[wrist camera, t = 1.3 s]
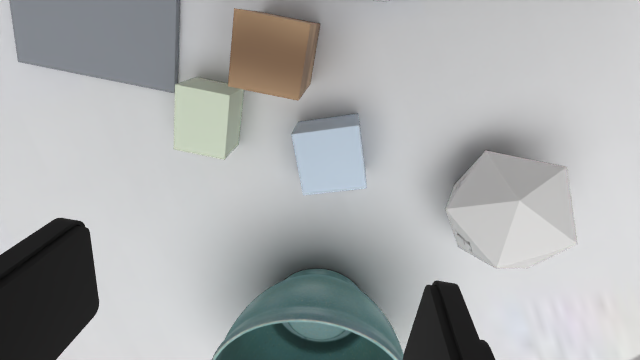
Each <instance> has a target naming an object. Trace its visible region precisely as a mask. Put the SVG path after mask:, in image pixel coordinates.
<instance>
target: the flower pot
mask: <svg viewBox="0 0 640 360" xmlns="http://www.w3.org/2000/svg"><path fill="white" fill-rule="evenodd" d="M212 360H403V352H402V349H401V346H400V343H399V341H398V338H397V336H396V334H395V332H394V330H393V328H392V326H391V325H390V323H389V321H388V320H387V318H386V317H385V315H384V314H383V312H382V311H381V310H380V309H379V308H378V306H377V305H376V304H375V303H374V302H373V301H372V300H371V299H370V298H369V297H368V296H367V295H366V294H364V293H363V292H362V291H360V289H359V288H358V287H357V286H356V285H355V284H354V283H353V282H352V281H351V280H350V279H348V278H347V277H345V276H343V275H341V274H339V273H337V272H334V271H331V270H326V269H307V270H303V271H299V272H297V273H294V274H292V275H291V276H289V277H288V278H286V279H285V280H284V281H282V282H279V283H277V284H276V285H274V286H272V287H270V288H269V289H267V290H266V291H264V292H263V293H262V294H260V295H259V296H258V297H257V298H256V299H254V300H253V301H252V302H251V303H250V304H249V305H248V306H247V307H246V309H245V310H244V311H243V312H242V313H241V315H240V316H239V317H238V319H237V320H236V321H235V323H234V324H233V326H232V327H231V329H230V331H229V332H228V334H227V336H226V338H225V340H224V341H223V342H222V343H221V345H220V346H219V348H218V349H217V351H216V352H215V354H214V356H213V358H212Z"/></svg>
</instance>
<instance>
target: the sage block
mask: <svg viewBox="0 0 640 360" xmlns="http://www.w3.org/2000/svg"><path fill="white" fill-rule="evenodd" d="M243 95H244V90H243V89H238V88H233V87H228V83H223V82H218V81H213V80H208V79H203V78H198V77H195V78H192V79H189V80H186V81H184V82H181V83H178V84H175V111H174V150H179V151H184V152H189V153H194V154H199V155H204V156H209V157H214V158H219V159H224V160H225V159H226V157H227V156H228V155H229V154H230V153H231V152H232V151H233V150H234V149H235V148H236V147H237V146H238V145H239V136H240V126H241V116H242V105H243Z"/></svg>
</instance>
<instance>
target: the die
mask: <svg viewBox="0 0 640 360" xmlns="http://www.w3.org/2000/svg"><path fill="white" fill-rule="evenodd" d="M446 212H447V215H448V218H449V221H450V224H451V227H452V230H453V233H454V236H455V239H456V242H457V245H458V247H459V248H461V249H462V250H464V251H466V252H468V253H470V254H471V255H473V256H475V257H477V258H478V259H480V260H482V261H484V262H486V263H487V264H489V265H491V266H493V267H494V268H496V269H506V268H530V267H532V266H534V265H536V264H538V263H540V262H542V261H544V260H546V259H548V258H550V257H553V256H555V255H557V254H559V253H561V252H563V251H565V250H567V249H569V248H571V247H573V246H575V245H577V244H578V243H577V236H576V229H575V222H574V215H573V208H572V200H571V193H570V186H569V179H568V172H567V167H565V166H560V165H555V164H550V163H545V162H540V161H535V160H530V159H525V158H520V157H516V156H511V155H506V154H501V153H496V152H491V151H485V152H484V153H483V154H482V155H481V156H480V157H479V158H478V159H477V161H476V162H475V163H474V164H473V165H472V166H471V167H470V168H469V169H468V170H467V172H466V173H465V174H464V175H463V176H462V177H461V178H460V179H459V180H458V182H457V183H456V184H455V185H454V187H453V190H452V192H451V195H450V198H449V200H448V203H447V206H446Z"/></svg>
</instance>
